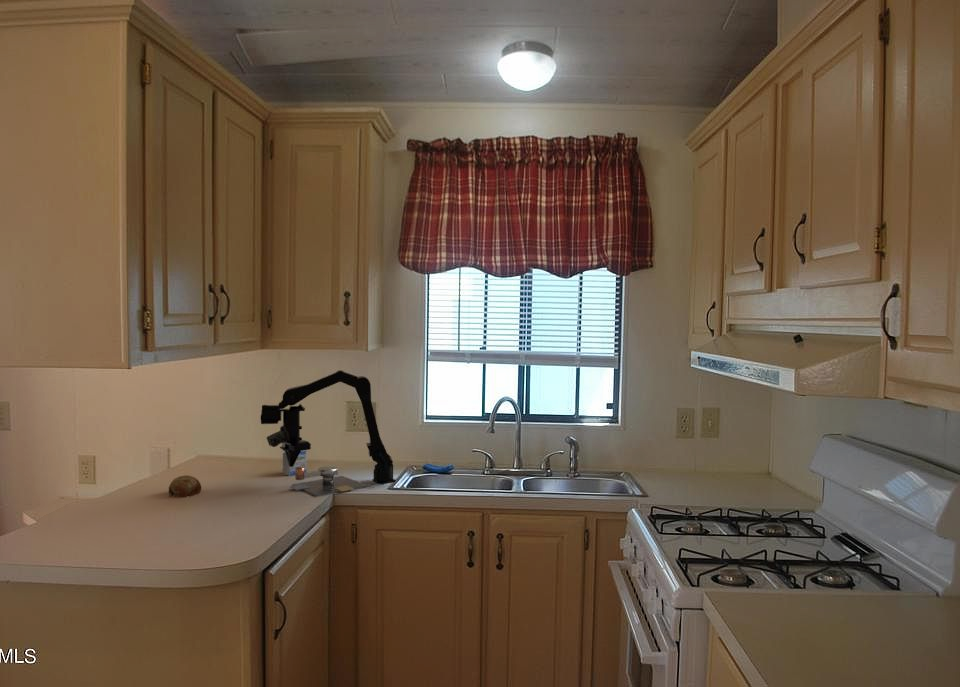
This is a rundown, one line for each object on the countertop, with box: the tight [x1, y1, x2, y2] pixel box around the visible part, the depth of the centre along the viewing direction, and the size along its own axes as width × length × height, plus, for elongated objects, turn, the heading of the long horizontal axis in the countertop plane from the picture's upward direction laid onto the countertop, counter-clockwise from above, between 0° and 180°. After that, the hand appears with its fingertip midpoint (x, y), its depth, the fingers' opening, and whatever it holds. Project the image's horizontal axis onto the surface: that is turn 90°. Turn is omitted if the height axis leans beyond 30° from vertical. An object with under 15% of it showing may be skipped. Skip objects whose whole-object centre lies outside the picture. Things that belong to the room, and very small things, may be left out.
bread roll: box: [168, 474, 202, 498], centre depth 209 cm, size 10×10×8 cm
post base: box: [289, 475, 368, 498], centre depth 219 cm, size 22×20×3 cm
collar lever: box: [294, 466, 339, 481], centre depth 220 cm, size 16×7×4 cm, turn 132°
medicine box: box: [282, 450, 307, 477], centre depth 239 cm, size 8×4×9 cm, turn 143°
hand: (291, 466), depth 221 cm, fingers closed
